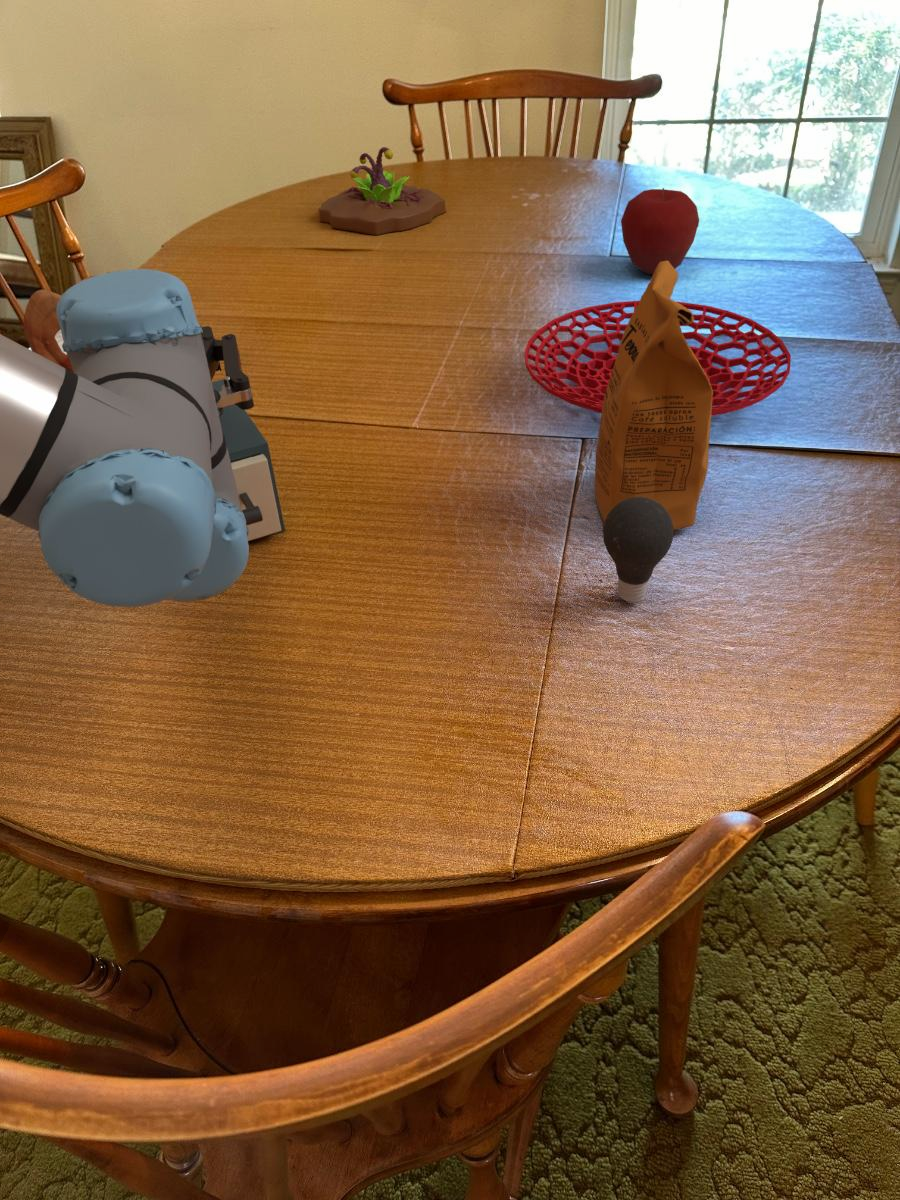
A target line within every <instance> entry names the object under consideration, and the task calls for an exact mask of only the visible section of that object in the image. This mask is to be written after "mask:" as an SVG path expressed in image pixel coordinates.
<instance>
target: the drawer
mask: <svg viewBox="0 0 900 1200" xmlns="http://www.w3.org/2000/svg"><path fill="white" fill-rule="evenodd" d="M231 466H232V470H233V474H234V479H235V483H236V487H237V492H238V496H239V500H240V504H241V509H242V512H243V514H244V516H245V519H246V525H247V527H248V529H249V534H248V536H247V538H248V541H250V540H253V539H256V538H260V537H263V536H266V535H269V534H273V533H276V532H279V531H281V526H280V521H279V516H278V511H277V506H276V501H275V496H274V491H273V486H272V481H271V476H270V471H269V466H268V461H267V459H266V457H265V456H264V454H261V455H257V456H254V457H252V456H249V457H245V458H242V459H238V460H234V461H231ZM279 533H280V532H279ZM276 534H277V533H276ZM273 535H274V534H273ZM266 537H267V536H266ZM263 538H264V537H263ZM260 539H261V538H260ZM253 541H254V540H253ZM250 542H251V541H250Z"/></svg>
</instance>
